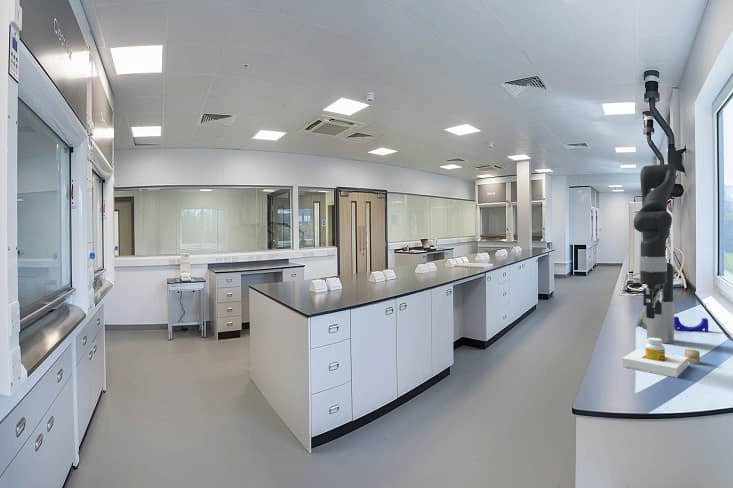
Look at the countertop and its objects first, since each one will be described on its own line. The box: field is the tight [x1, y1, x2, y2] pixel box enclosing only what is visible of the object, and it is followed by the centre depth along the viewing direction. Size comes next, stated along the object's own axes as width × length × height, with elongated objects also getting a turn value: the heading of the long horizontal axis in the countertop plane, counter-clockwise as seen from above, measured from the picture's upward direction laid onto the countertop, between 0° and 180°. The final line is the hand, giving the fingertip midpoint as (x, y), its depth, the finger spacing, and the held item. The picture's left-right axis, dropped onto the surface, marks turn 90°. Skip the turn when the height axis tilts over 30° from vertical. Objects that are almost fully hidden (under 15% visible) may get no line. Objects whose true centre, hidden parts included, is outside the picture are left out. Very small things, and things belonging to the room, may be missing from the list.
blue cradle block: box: [674, 316, 709, 333], centre depth 181 cm, size 12×4×6 cm, turn 61°
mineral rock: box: [636, 308, 647, 330], centre depth 186 cm, size 13×11×10 cm
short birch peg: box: [684, 348, 701, 365], centre depth 139 cm, size 4×4×4 cm
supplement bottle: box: [645, 338, 666, 362], centre depth 135 cm, size 5×5×10 cm
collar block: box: [622, 348, 689, 378], centre depth 135 cm, size 16×15×3 cm
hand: (654, 316), depth 135 cm, fingers open, 8 cm apart
